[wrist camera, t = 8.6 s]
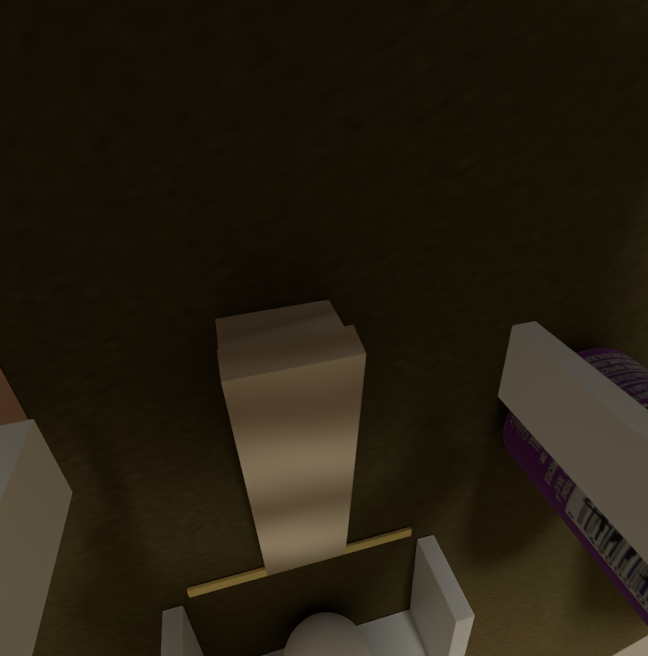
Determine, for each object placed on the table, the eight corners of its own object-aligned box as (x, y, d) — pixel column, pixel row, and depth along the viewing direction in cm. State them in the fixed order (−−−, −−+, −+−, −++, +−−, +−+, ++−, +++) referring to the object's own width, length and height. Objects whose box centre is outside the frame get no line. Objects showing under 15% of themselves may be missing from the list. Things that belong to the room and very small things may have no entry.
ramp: (211, 298, 15) (219, 374, 12) (326, 280, 16) (366, 346, 13) (263, 553, 23) (277, 644, 20) (338, 533, 24) (365, 617, 21)
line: (186, 588, 23) (186, 591, 23) (410, 526, 25) (411, 529, 25) (189, 594, 23) (189, 597, 23) (409, 533, 25) (410, 535, 25)
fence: (162, 610, 23) (158, 718, 20) (433, 534, 26) (474, 615, 22) (197, 684, 28) (199, 782, 24) (422, 614, 31) (454, 691, 27)
